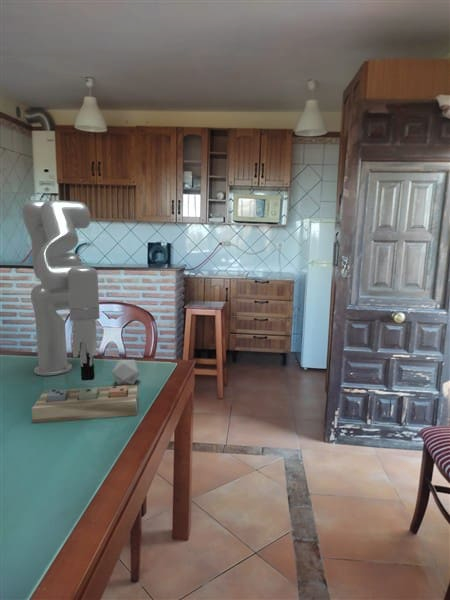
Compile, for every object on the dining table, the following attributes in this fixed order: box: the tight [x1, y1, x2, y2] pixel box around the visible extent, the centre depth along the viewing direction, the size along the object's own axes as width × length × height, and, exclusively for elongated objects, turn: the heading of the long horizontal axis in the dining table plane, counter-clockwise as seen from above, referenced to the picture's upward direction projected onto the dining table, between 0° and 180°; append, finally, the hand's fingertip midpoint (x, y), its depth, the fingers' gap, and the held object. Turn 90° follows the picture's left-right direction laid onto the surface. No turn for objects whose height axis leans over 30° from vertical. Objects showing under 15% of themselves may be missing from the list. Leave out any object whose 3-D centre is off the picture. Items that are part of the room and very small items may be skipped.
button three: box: [47, 388, 69, 402], centre depth 104 cm, size 4×4×3 cm
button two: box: [109, 385, 128, 398], centre depth 107 cm, size 4×4×3 cm
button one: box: [79, 386, 98, 400], centre depth 106 cm, size 4×4×3 cm
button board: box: [31, 384, 139, 424], centre depth 106 cm, size 12×26×4 cm, turn 101°
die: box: [111, 359, 141, 386], centre depth 126 cm, size 8×9×10 cm
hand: (88, 379), depth 105 cm, fingers closed
